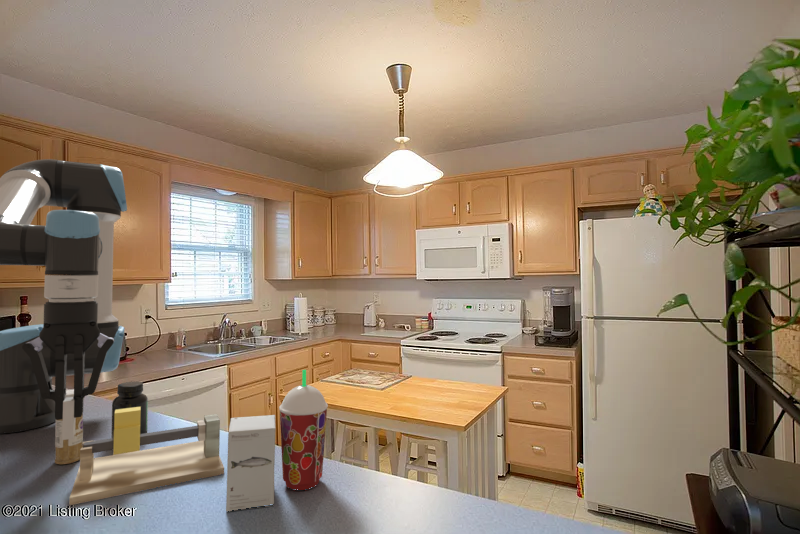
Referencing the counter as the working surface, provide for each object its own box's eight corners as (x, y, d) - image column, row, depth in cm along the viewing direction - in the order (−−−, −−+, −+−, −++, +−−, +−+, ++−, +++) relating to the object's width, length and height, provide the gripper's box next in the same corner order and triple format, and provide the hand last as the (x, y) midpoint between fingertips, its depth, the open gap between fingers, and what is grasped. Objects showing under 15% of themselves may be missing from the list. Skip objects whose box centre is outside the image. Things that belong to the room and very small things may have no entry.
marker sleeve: (114, 446, 82) (115, 408, 82) (139, 442, 84) (140, 405, 84) (113, 454, 78) (114, 414, 78) (139, 450, 80) (140, 411, 80)
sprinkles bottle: (82, 462, 86) (83, 392, 86) (52, 467, 84) (54, 395, 84) (83, 453, 90) (84, 387, 90) (55, 458, 88) (56, 390, 88)
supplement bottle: (154, 433, 102) (155, 380, 102) (133, 444, 95) (134, 388, 95) (126, 431, 103) (127, 379, 103) (103, 443, 96) (104, 387, 96)
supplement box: (224, 513, 69) (226, 431, 69) (229, 491, 76) (230, 416, 76) (274, 507, 71) (275, 427, 71) (274, 485, 78) (275, 413, 78)
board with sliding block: (81, 466, 84) (82, 423, 84) (212, 444, 96) (212, 406, 96) (69, 505, 70) (70, 453, 71) (224, 474, 82) (224, 429, 82)
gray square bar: (84, 451, 79) (84, 442, 79) (212, 431, 89) (212, 423, 89) (83, 454, 77) (83, 445, 77) (213, 434, 88) (213, 425, 88)
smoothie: (336, 480, 80) (337, 368, 80) (304, 500, 73) (305, 377, 73) (301, 469, 84) (303, 363, 85) (267, 487, 77) (269, 371, 77)
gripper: (17, 302, 71) (14, 451, 70) (115, 300, 77) (112, 437, 77) (28, 299, 77) (25, 436, 77) (117, 298, 84) (114, 424, 83)
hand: (68, 436), depth 77 cm, fingers closed
